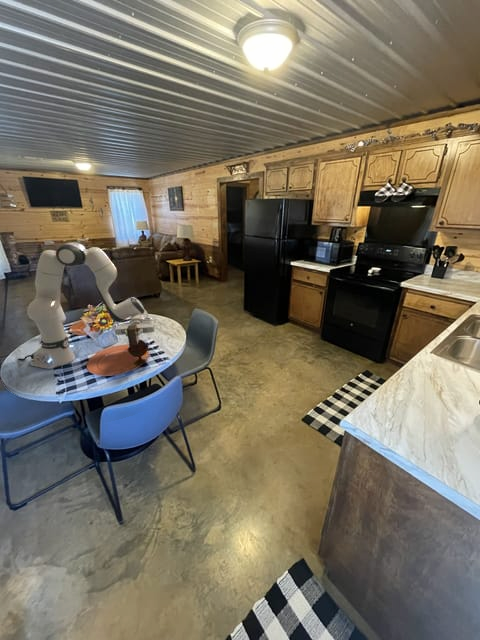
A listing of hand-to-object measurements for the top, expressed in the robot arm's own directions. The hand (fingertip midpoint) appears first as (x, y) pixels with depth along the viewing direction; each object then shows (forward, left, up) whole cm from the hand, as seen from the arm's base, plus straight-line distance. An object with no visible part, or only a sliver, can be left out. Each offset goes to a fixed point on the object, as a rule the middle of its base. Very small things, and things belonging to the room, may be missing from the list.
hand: (132, 334), depth 137 cm
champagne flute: (-69, +34, -21) cm, 80 cm away
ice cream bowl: (-2, +6, -21) cm, 22 cm away
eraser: (0, +1, -5) cm, 5 cm away
